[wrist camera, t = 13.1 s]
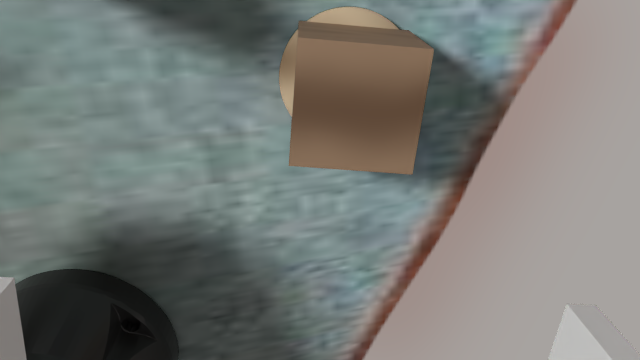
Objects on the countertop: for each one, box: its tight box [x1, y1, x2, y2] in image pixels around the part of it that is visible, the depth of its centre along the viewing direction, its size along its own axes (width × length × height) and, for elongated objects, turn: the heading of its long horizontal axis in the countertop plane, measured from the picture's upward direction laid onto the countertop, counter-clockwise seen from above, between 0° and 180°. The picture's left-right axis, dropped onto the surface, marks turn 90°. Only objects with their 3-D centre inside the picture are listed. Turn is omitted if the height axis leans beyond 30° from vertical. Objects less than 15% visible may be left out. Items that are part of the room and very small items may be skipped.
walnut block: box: [289, 21, 434, 174], centre depth 31 cm, size 7×7×7 cm
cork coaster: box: [279, 7, 399, 116], centre depth 35 cm, size 9×9×1 cm
